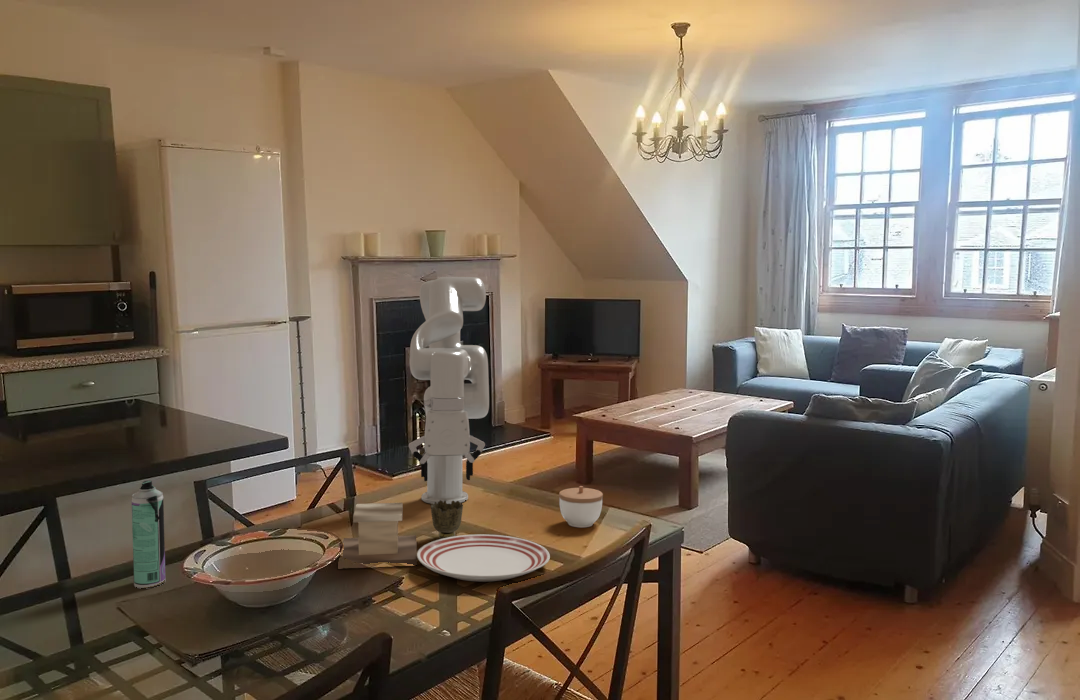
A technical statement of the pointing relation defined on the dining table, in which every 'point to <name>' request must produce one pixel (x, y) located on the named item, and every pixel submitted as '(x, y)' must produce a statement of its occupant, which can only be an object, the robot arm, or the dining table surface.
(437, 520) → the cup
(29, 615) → the dining table surface
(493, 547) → the dinner plate
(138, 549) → the spray can
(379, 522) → the cream pedestal stand
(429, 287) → the robot arm
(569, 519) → the lidded jar
